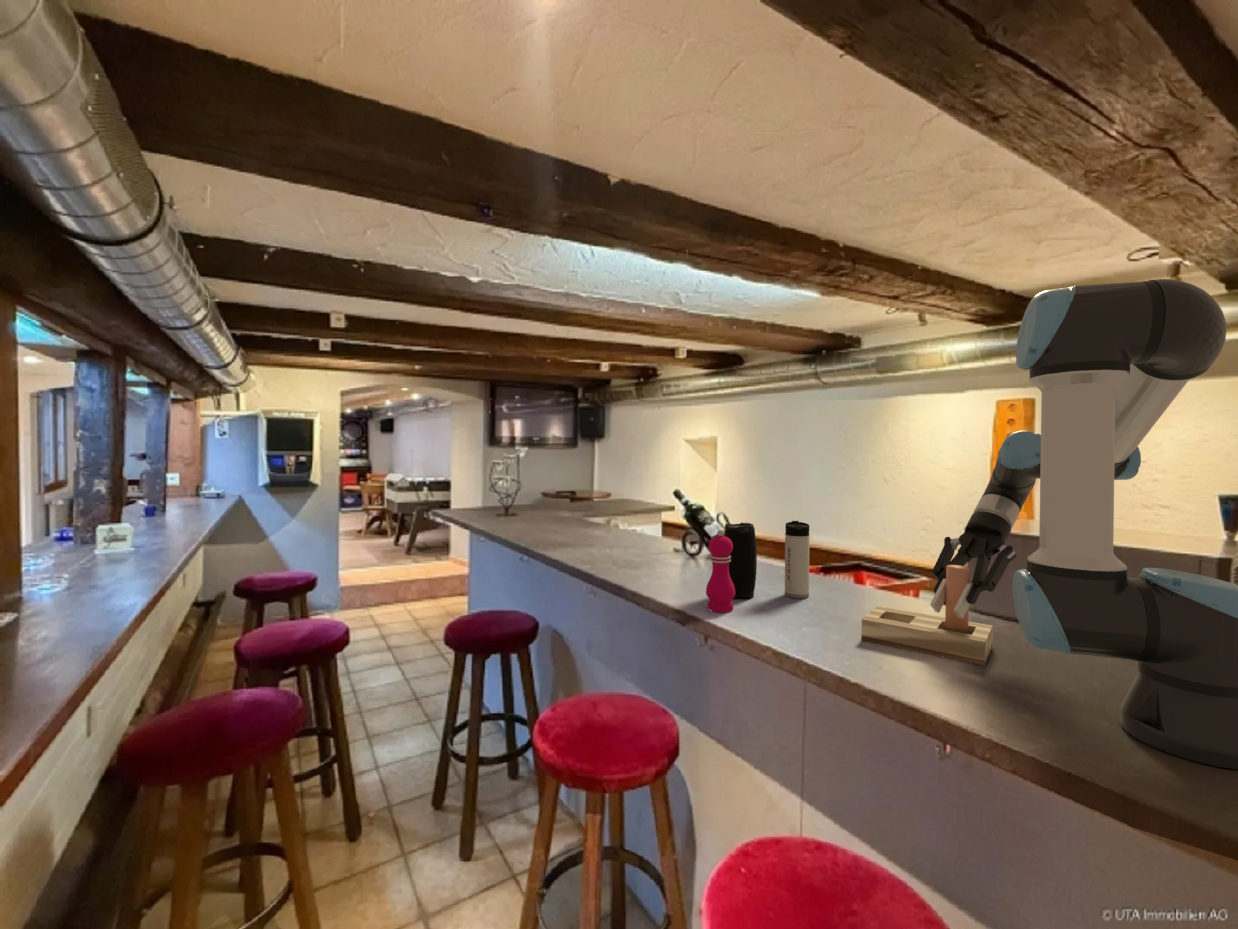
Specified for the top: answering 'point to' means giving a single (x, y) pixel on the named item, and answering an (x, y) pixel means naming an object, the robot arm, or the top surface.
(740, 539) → the portable speaker
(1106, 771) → the top surface
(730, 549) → the pepper mill
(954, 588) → the pin
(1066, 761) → the top surface
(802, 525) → the travel mug
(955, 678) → the top surface
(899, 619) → the socket block
